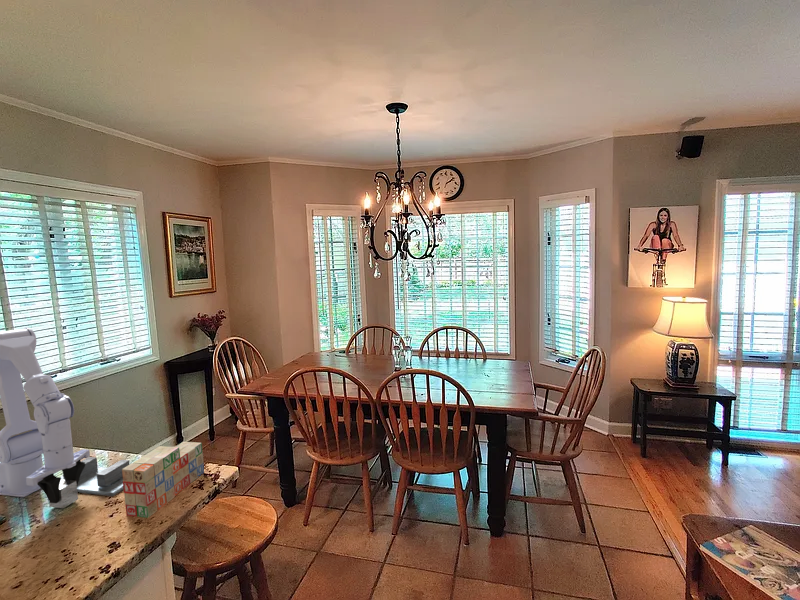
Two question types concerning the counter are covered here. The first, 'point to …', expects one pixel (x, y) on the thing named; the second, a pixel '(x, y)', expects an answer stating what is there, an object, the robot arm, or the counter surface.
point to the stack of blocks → (160, 477)
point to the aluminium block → (66, 494)
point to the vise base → (95, 480)
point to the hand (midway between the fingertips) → (63, 497)
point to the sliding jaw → (111, 473)
